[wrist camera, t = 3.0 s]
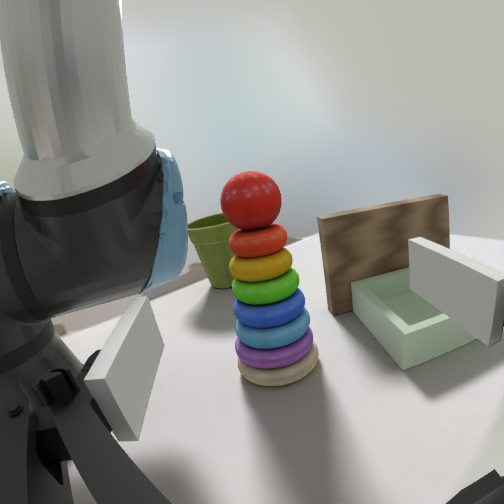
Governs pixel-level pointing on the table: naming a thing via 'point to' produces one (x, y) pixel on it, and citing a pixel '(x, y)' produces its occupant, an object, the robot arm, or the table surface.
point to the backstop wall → (376, 242)
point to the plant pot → (214, 247)
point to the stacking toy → (265, 286)
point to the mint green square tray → (405, 319)
